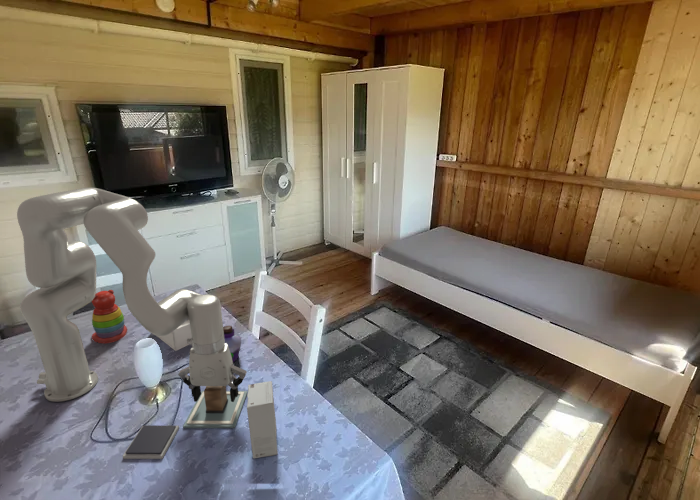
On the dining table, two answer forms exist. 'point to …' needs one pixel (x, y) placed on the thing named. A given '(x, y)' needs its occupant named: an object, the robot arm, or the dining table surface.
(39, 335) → the robot arm
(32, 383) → the dining table surface
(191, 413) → the board
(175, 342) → the butter dish
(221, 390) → the stamp
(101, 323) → the stacking bear
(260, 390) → the skincare box
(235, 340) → the potion bottle
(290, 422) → the dining table surface
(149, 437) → the ink pad
